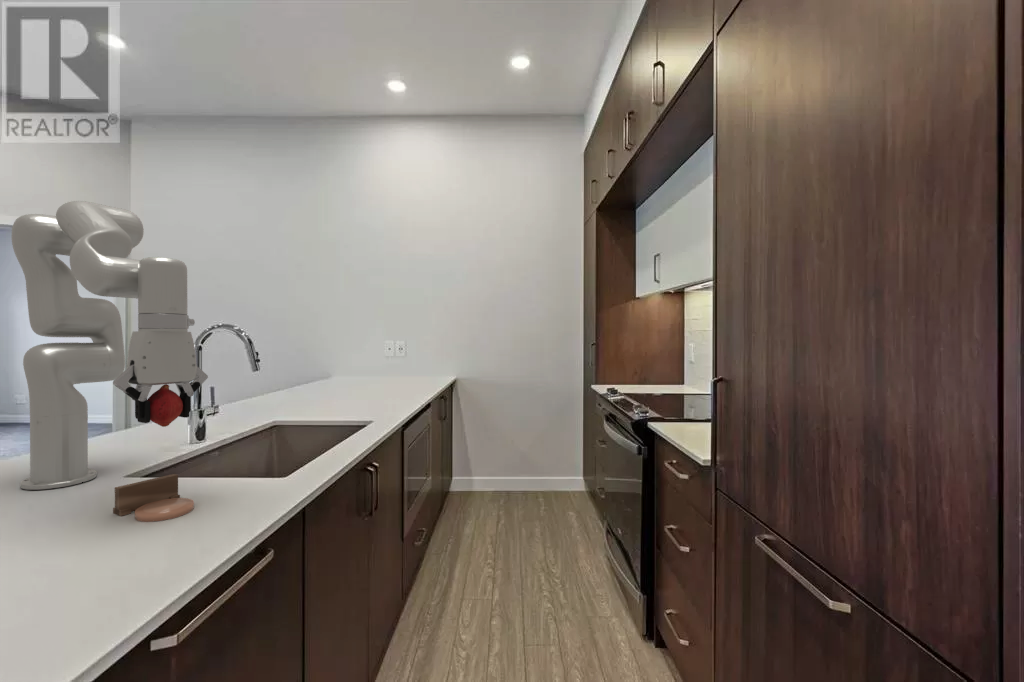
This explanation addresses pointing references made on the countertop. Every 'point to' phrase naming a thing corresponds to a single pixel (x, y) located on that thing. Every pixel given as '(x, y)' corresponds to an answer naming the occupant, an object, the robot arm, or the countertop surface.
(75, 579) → the countertop surface
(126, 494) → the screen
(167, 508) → the plate
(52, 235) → the robot arm
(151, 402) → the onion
